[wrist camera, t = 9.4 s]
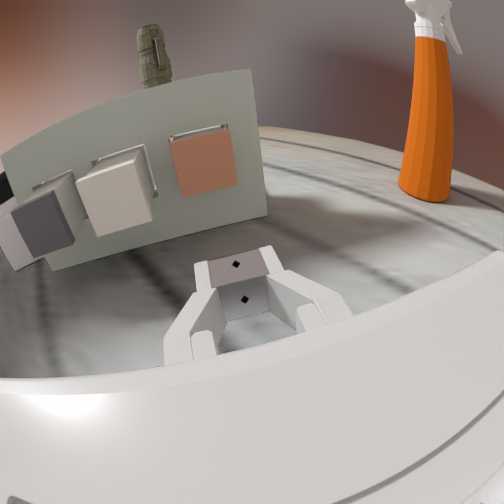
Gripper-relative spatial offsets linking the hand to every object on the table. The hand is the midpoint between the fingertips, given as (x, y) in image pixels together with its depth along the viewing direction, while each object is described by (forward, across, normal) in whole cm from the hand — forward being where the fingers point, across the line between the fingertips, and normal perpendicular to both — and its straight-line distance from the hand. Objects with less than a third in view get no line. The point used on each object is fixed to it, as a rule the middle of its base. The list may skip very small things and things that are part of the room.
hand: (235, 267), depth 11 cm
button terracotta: (+17, 0, -2) cm, 17 cm away
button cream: (+14, -7, -2) cm, 16 cm away
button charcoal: (+14, -14, -2) cm, 20 cm away
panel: (+18, -7, -7) cm, 21 cm away
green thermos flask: (+73, -8, -7) cm, 74 cm away
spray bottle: (+14, +27, -7) cm, 31 cm away
